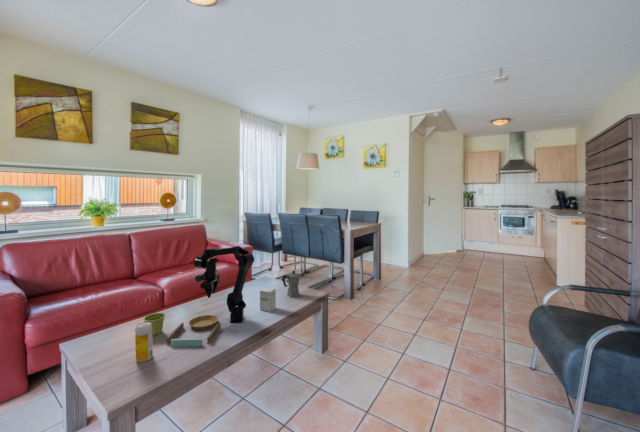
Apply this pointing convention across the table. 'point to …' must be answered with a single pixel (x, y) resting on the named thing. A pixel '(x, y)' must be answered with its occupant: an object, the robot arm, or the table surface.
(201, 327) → the plant saucer
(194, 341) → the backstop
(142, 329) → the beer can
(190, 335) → the table surface
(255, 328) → the table surface
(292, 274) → the coffeepot
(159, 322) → the plant pot
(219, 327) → the lane walls
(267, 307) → the supplement box
